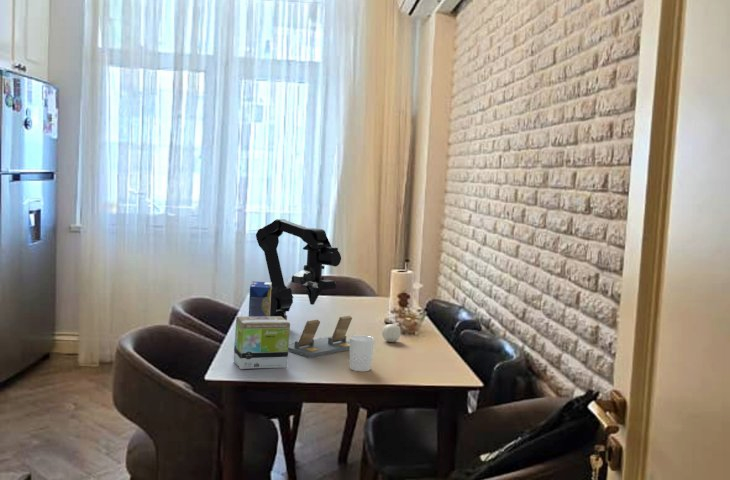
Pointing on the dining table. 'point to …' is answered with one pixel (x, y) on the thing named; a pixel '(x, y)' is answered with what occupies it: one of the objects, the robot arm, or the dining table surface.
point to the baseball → (391, 333)
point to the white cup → (361, 352)
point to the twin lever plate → (319, 347)
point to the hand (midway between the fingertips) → (312, 304)
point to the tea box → (261, 342)
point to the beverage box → (260, 299)
